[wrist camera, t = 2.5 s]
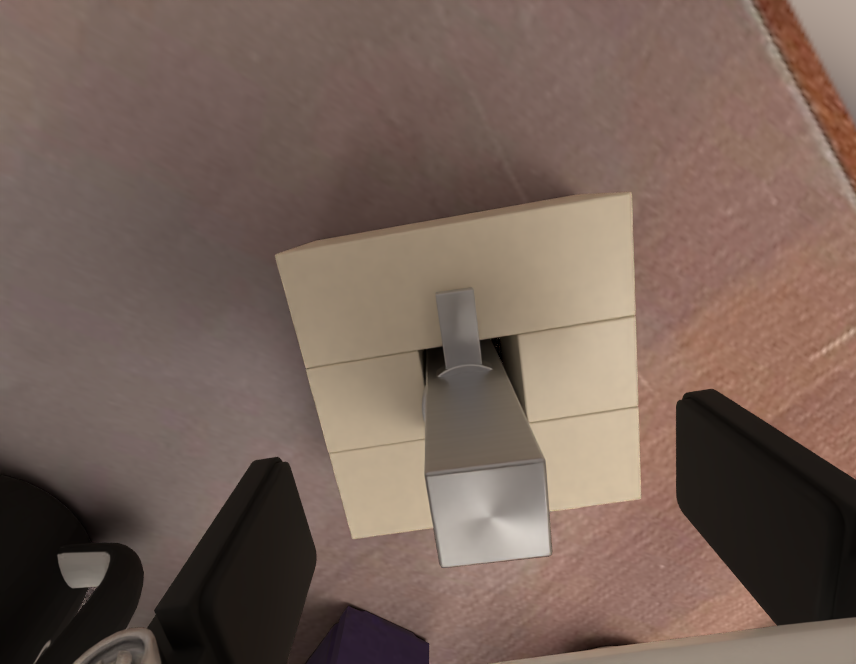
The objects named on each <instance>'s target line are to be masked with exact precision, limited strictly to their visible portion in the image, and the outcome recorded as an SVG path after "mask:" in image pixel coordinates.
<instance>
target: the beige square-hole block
mask: <svg viewBox="0 0 856 664" xmlns="http://www.w3.org/2000/svg"><path fill="white" fill-rule="evenodd" d="M275 259H276V262H277V266H278V270H279V273H280V277H281V280H282V284H283V288H284V291H285V295H286V299H287V302H288V306H289V310H290V313H291V317H292V321H293V324H294V328H295V332H296V335H297V339H298V343H299V346H300V350H301V353H302V357H303V361H304V364H305V367H306V373H307V377H308V380H309V384H310V388H311V391H312V395H313V399H314V402H315V406H316V409H317V413H318V417H319V420H320V424H321V428H322V431H323V435H324V439H325V442H326V446H327V450H328V452H329V456H330V460H331V463H332V467H333V471H334V474H335V478H336V482H337V485H338V489H339V493H340V496H341V500H342V504H343V507H344V511H345V515H346V518H347V522H348V525H349V529H350V533H351V536H352V539H359V538H366V537H373V536H380V535H387V534H395V533H402V532H409V531H416V530H423V529H430V528H433V523H432V518H431V512H430V506H429V500H428V494H427V488H426V482H425V476H424V463H425V422H424V420H423V415H422V396H423V391H424V388H425V386H426V349H428V348H434V347H441V346H443V345H442V338H441V331H440V324H439V317H438V310H437V303H436V296H435V293H436V292H440V291H448V290H455V289H462V288H469V287H472V288H473V290H474V296H475V305H476V313H477V322H478V331H479V340H484V339H490V338H496V337H500V342H501V350H502V357H503V365H504V369H505V372H506V374H507V376H508V378H509V380H510V383H511V385H512V387H513V389H514V391H515V394H516V396H517V398H518V400H519V402H520V405H521V407H522V409H523V411H524V413H525V416H526V418H527V420H528V422H529V424H530V427H531V429H532V431H533V433H534V436H535V438H536V440H537V442H538V444H539V447H540V449H541V451H542V453H543V455H544V458H545V460H546V471H547V484H548V498H549V512H552V511H559V510H566V509H573V508H580V507H587V506H595V505H602V504H609V503H616V502H623V501H630V500H637V499H641V475H640V441H639V408H638V376H637V342H636V317H635V316H634V315H635V313H636V312H635V279H634V245H633V212H632V193H631V192H616V193H597V194H577V195H571V196H566V197H560V198H554V199H549V200H543V201H537V202H532V203H526V204H520V205H515V206H509V207H503V208H498V209H492V210H486V211H481V212H475V213H469V214H464V215H458V216H452V217H447V218H441V219H435V220H430V221H424V222H419V223H413V224H407V225H402V226H396V227H390V228H385V229H379V230H373V231H368V232H362V233H356V234H351V235H345V236H339V237H334V238H328V239H322V240H317V241H313V242H310V243H307V244H304V245H301V246H298V247H296V248H293V249H290V250H287V251H284V252H281V253H278V254H276V255H275Z"/></svg>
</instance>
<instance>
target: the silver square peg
mask: <svg viewBox="0 0 856 664" xmlns="http://www.w3.org/2000/svg"><path fill="white" fill-rule="evenodd" d="M435 296H436V303H437V310H438V317H439V324H440V331H441V338H442V345H443V346H441V347H434V348H428V349H426V386H425V388H424V391H423V396H422V415H423V420H424V422H425V463H424V476H425V482H426V488H427V494H428V500H429V506H430V512H431V518H432V523H433V529H434V535H435V541H436V547H437V553H438V559H439V564H440V566H441V567H442V568H449V567H458V566H467V565H476V564H485V563H494V562H503V561H512V560H521V559H530V558H539V557H547V556H551V555H552V540H551V526H550V512H549V498H548V484H547V471H546V460H545V458H544V455H543V453H542V451H541V449H540V447H539V444H538V442H537V440H536V438H535V436H534V433H533V431H532V429H531V427H530V424H529V422H528V420H527V418H526V416H525V413H524V411H523V409H522V407H521V405H520V402H519V400H518V398H517V396H516V394H515V391H514V389H513V387H512V385H511V383H510V380H509V378H508V376H507V374H506V372H505V369H504V367H503V365H502V363H501V360H500V358H499V356H498V354H497V352H496V349H495V347H494V345H493V343H492V341H491V338H490V339H484V340H479V331H478V322H477V313H476V305H475V296H474V290H473V288H472V287H469V288H462V289H455V290H448V291H440V292H436V293H435Z"/></svg>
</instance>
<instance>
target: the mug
mask: <svg viewBox="0 0 856 664" xmlns="http://www.w3.org/2000/svg"><path fill="white" fill-rule="evenodd" d="M143 578H144V571H143V567H142V564H141V561H140V559H139V557H138V555H137V554H136V553H135V552H134V551H133V550H132V549H131V548H129V547H128V546H126V545H123V544H120V543H91V541H90V539H89V537H88V535H87V533H86V531H85V529H84V527H83V526H82V525H81V523H80V522H79V521H78V519H77V518H76V517H75V515H74V514H73V513H72V512H71V511H70V510H69V509H68V508H67V507H65V506H64V505H63V504H62V503H61V502H60V501H59V500H57V499H56V498H54V497H53V496H51V495H50V494H48V493H47V492H46V491H44V490H42V489H40V488H37V487H35V486H33V485H31V484H29V483H27V482H25V481H21V480H18V479H15V478H12V477H8V476H3V475H0V664H73V663H74V662H75V661H76V660H77V659H78V658H79V657H80V656H81V655H82V654H83V653H85V652H86V651H87V650H89V649H90V648H91V647H93V646H94V645H96V644H97V643H98V642H100V641H101V640H103V639H105V638H107V637H109V636H111V635H113V634H115V633H116V632H119V631H122V630H125V629H126V627H127V625H128V624H129V622H130V620H131V618H132V616H133V614H134V612H135V610H136V608H137V605H138V602H139V599H140V595H141V591H142V587H143ZM89 587H97V588H96V590H95V591H94V592H93V594H92V595H91V597H90V598H89V599H88V601H87V602H86V603H85V605H84V606H83V607H82V608H81V610H80V611H79V612H78V610H79V608H80V605H81V603H82V601H83V599H84V596H85V594H86V592H87V590H88V588H89ZM77 612H78V613H77ZM76 613H77V615H76ZM75 615H76V616H75Z"/></svg>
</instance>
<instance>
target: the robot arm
mask: <svg viewBox="0 0 856 664" xmlns="http://www.w3.org/2000/svg"><path fill="white" fill-rule="evenodd" d="M676 496H677V502H678V504H679V507H680V509H681V511H682V512H683V514H684V515H685V516H686V517H687V518H688V520H689V521H690V522H691V523H692V524H693V526H694V527H695V528H696V529H697V530H698V532H699V533H700V534H701V535H702V536H703V537H704V539H705V540H706V541H707V542H708V543H709V545H710V546H711V547H712V548H713V549H714V551H715V552H716V553H717V554H718V555H719V557H720V558H721V559H722V560H723V561H724V563H725V564H726V565H727V566H728V567H729V569H730V570H731V571H732V572H733V573H734V575H735V576H736V577H737V578H738V579H739V581H740V582H741V583H742V584H743V585H744V587H745V588H746V589H747V590H748V591H749V592H750V594H751V595H752V596H753V597H754V598H755V600H756V601H757V602H758V603H759V604H760V606H761V607H762V608H763V609H764V610H765V612H766V613H767V614H768V615H769V616H770V618H771V619H772V620H773V621H774V622H775V624H776V625H777V626H772V627H764V628H756V629H748V630H741V631H733V632H725V633H717V634H709V635H702V636H694V637H686V638H678V639H670V640H662V641H655V642H647V643H639V644H631V645H624V646H616V647H608V648H601V649H593V650H586V651H578V652H571V653H563V654H556V655H548V656H541V657H533V658H526V659H519V660H511V661H504V662H497V663H489V664H856V480H855V479H854V478H852V477H851V476H849V475H848V474H846V473H844V472H843V471H841V470H840V469H838V468H837V467H835V466H833V465H832V464H830V463H829V462H827V461H826V460H824V459H823V458H821V457H819V456H818V455H816V454H815V453H813V452H812V451H810V450H808V449H807V448H805V447H804V446H802V445H801V444H799V443H798V442H796V441H794V440H793V439H791V438H790V437H788V436H787V435H785V434H784V433H782V432H780V431H779V430H777V429H776V428H774V427H773V426H771V425H769V424H768V423H766V422H765V421H763V420H762V419H760V418H759V417H757V416H755V415H754V414H752V413H751V412H749V411H748V410H746V409H744V408H743V407H741V406H740V405H738V404H737V403H735V402H734V401H732V400H730V399H729V398H727V397H726V396H724V395H723V394H721V393H719V392H718V391H716V390H714V389H707V390H701V391H694V392H688V393H685V394H684V396H683V398H682V400H679V401H678V402H677V405H676ZM315 566H316V549H315V545H314V542H313V539H312V536H311V532H310V529H309V526H308V523H307V519H306V516H305V513H304V510H303V506H302V503H301V500H300V497H299V493H298V490H297V487H296V484H295V480H294V477H293V474H292V471H291V467H290V465H289V463H288V462H282V460H281V459H280V458H279V457H274V458H267V459H261V460H255V461H253V462H252V463H251V465H250V466H249V468H248V469H247V471H246V472H245V474H244V476H243V477H242V479H241V480H240V482H239V483H238V485H237V486H236V488H235V489H234V491H233V492H232V494H231V495H230V497H229V498H228V500H227V501H226V503H225V504H224V506H223V507H222V509H221V510H220V512H219V513H218V515H217V516H216V518H215V519H214V521H213V522H212V524H211V525H210V527H209V528H208V530H207V531H206V533H205V534H204V536H203V537H202V539H201V540H200V542H199V543H198V545H197V547H196V548H195V550H194V551H193V553H192V554H191V556H190V557H189V559H188V560H187V562H186V563H185V565H184V566H183V568H182V569H181V571H180V572H179V574H178V575H177V577H176V578H175V580H174V581H173V583H172V584H171V586H170V587H169V589H168V590H167V592H166V593H165V595H164V596H163V598H162V599H161V601H160V602H159V604H158V605H157V607H156V608H155V610H154V611H155V613H156V615H155V617H154V618H153V620H152V621H151V623H150V625H149V626H148V628H147V629H146V628H144V627H135V628H129V629H126V630H122V631H119V632H116V633H115V634H113V635H111V636H109V637H107V638H105V639H103V640H101V641H100V642H98V643H97V644H96V645H94V646H93V647H91V648H90V649H89V650H87V651H86V652H85V653H83V654H82V655H81V656H80V657H79V658H78V659H77V660H76V661H75V662H74V663H73V664H287V661H288V657H289V654H290V651H291V647H292V644H293V640H294V637H295V634H296V630H297V627H298V624H299V620H300V617H301V614H302V610H303V607H304V604H305V600H306V597H307V593H308V590H309V587H310V583H311V580H312V577H313V573H314V570H315Z"/></svg>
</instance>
